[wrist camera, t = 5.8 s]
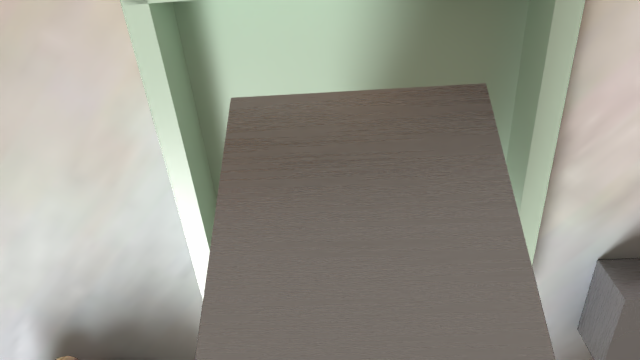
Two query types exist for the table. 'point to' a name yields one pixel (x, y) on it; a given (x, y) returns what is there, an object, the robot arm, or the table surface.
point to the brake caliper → (67, 358)
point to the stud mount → (613, 311)
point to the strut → (368, 232)
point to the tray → (348, 76)
